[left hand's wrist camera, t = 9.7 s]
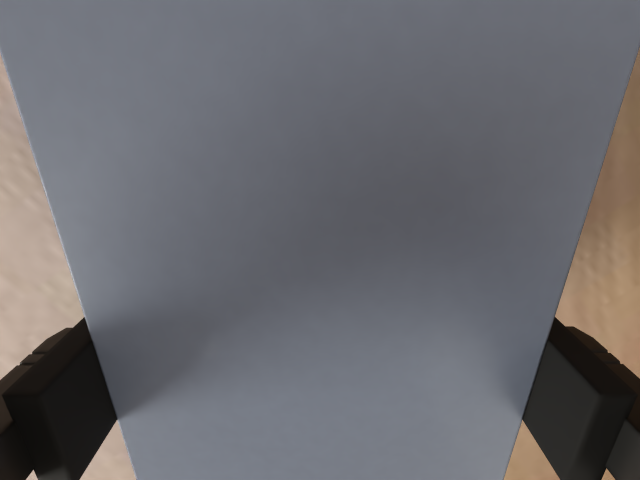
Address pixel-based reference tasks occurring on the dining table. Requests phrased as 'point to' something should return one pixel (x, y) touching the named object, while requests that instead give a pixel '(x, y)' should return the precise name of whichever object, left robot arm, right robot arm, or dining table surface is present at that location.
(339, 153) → the cabinet
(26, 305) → the dining table surface
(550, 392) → the left robot arm
